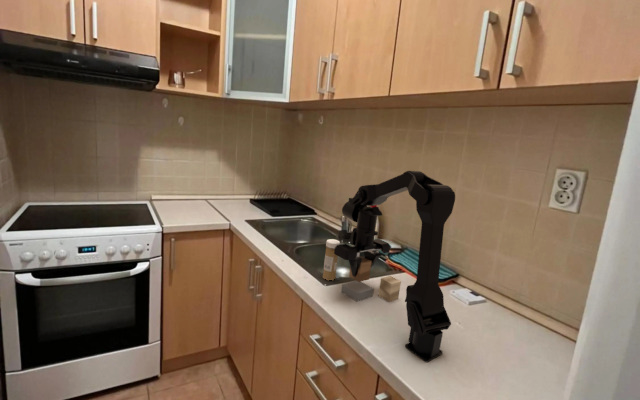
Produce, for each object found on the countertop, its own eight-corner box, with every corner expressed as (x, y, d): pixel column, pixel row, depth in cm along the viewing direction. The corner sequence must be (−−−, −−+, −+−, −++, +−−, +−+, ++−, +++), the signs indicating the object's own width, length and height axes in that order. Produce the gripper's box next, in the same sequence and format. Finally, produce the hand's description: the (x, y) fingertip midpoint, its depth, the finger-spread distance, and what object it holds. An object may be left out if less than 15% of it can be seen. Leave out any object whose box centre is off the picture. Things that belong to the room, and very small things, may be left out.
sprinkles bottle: (338, 279, 117) (342, 242, 114) (327, 282, 114) (331, 243, 112) (330, 274, 120) (334, 238, 118) (319, 276, 118) (323, 239, 115)
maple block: (398, 299, 108) (401, 281, 107) (388, 302, 105) (391, 283, 104) (387, 292, 111) (390, 275, 110) (378, 295, 108) (380, 278, 107)
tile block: (372, 297, 108) (373, 288, 107) (357, 302, 103) (358, 293, 103) (356, 288, 113) (357, 279, 112) (341, 293, 108) (342, 284, 108)
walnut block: (369, 279, 106) (371, 261, 105) (358, 282, 104) (361, 263, 103) (359, 273, 110) (361, 256, 109) (349, 276, 107) (351, 258, 106)
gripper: (369, 217, 115) (363, 261, 118) (325, 221, 104) (320, 269, 107) (394, 227, 107) (387, 273, 110) (350, 232, 95) (343, 284, 98)
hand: (359, 274), depth 107 cm, fingers closed on walnut block, 4 cm apart
